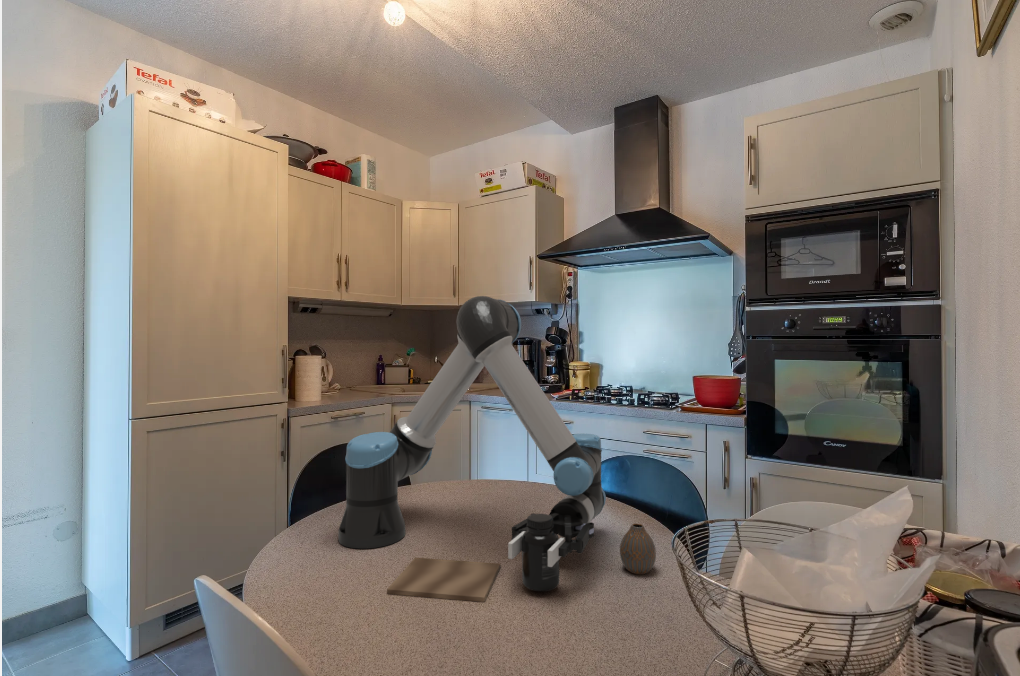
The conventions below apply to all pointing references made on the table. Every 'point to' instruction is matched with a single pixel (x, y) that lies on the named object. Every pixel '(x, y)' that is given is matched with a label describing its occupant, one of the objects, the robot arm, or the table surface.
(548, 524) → the supplement bottle
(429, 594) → the board
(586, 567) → the table surface
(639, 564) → the vase
